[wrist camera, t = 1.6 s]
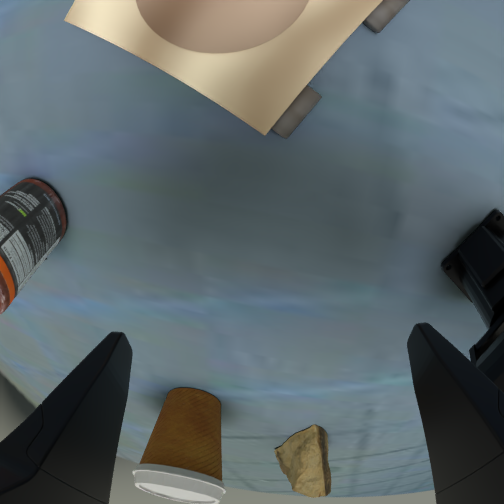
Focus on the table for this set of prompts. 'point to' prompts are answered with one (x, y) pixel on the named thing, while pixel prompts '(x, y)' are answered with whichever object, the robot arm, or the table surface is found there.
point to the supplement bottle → (27, 233)
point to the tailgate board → (238, 46)
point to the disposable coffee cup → (184, 450)
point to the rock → (306, 462)
